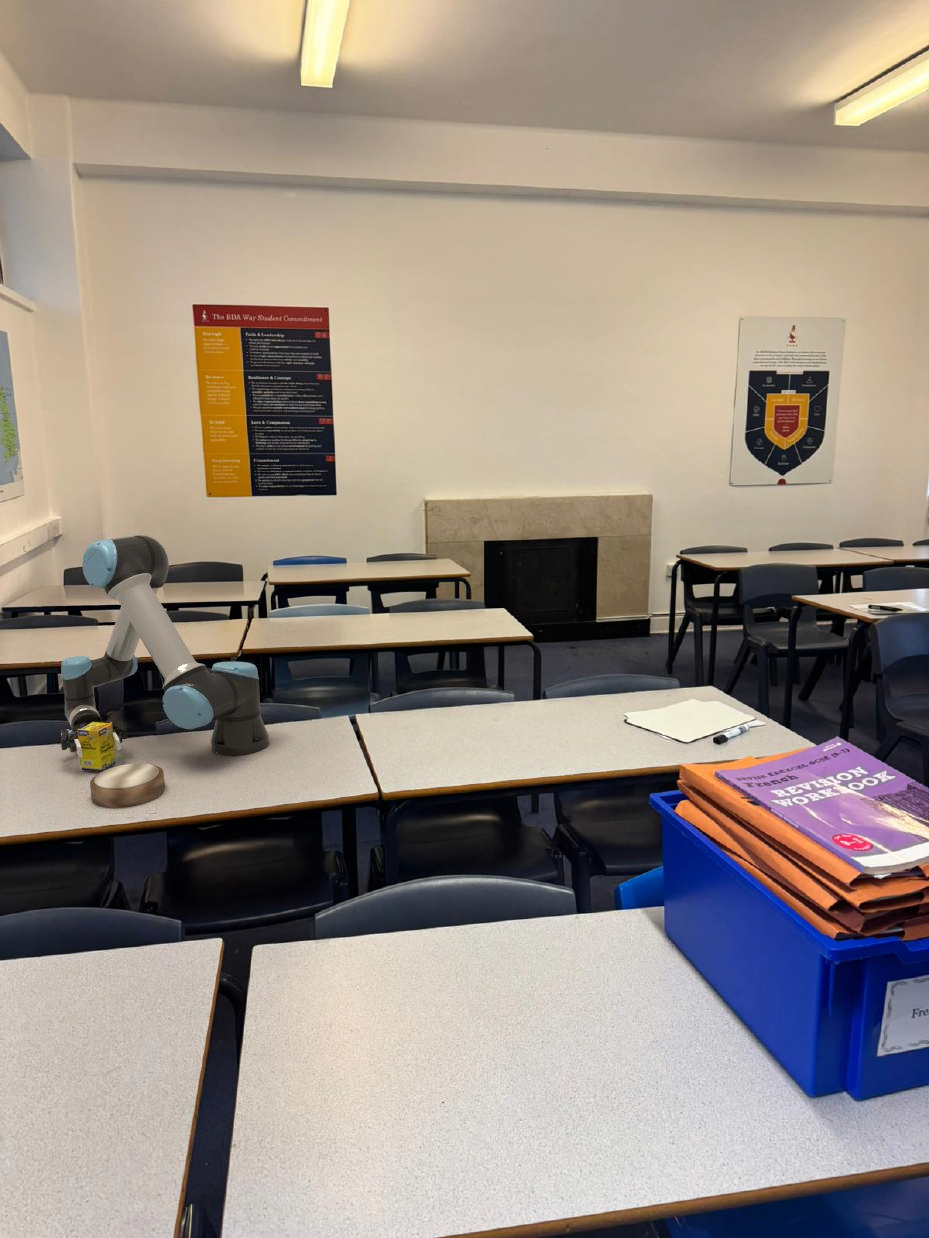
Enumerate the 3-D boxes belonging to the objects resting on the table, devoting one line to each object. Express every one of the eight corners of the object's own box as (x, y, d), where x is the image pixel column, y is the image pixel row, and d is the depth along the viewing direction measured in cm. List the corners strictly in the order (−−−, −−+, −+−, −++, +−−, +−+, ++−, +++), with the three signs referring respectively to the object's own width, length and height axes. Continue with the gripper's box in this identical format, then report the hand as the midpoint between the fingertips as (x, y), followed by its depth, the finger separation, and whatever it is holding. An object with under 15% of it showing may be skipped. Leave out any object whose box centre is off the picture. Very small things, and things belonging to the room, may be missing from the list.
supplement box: (102, 772, 201) (97, 731, 199) (81, 770, 202) (76, 729, 200) (117, 763, 207) (112, 722, 205) (96, 761, 208) (91, 721, 206)
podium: (169, 776, 200) (167, 759, 199) (159, 804, 185) (157, 785, 184) (100, 782, 197) (98, 764, 196) (84, 810, 181) (82, 792, 180)
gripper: (128, 728, 224) (145, 754, 206) (44, 743, 214) (54, 772, 195) (126, 702, 223) (142, 726, 204) (41, 716, 212) (50, 742, 193)
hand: (99, 748), depth 199 cm, fingers closed on supplement box, 8 cm apart
